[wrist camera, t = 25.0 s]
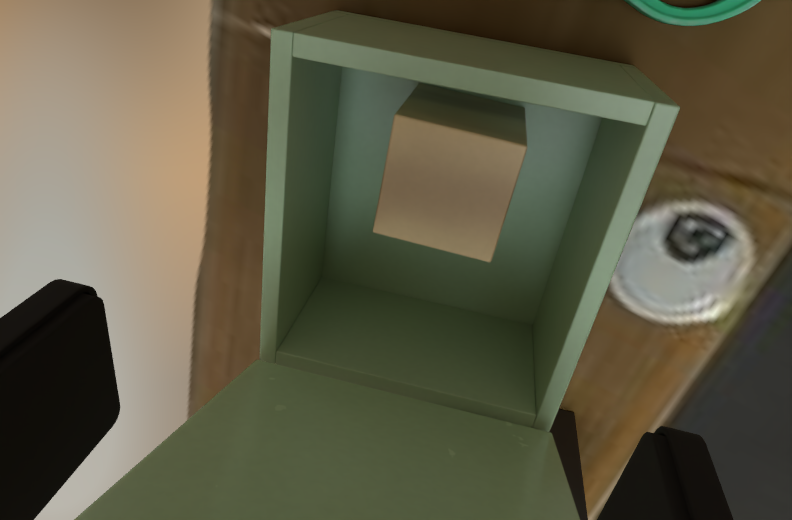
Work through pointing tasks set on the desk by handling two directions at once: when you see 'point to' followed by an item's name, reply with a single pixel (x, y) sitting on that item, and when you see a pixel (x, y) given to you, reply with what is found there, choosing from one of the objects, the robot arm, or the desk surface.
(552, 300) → the storage box
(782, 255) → the desk surface
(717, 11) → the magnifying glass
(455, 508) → the lid
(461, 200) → the block
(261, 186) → the desk surface
